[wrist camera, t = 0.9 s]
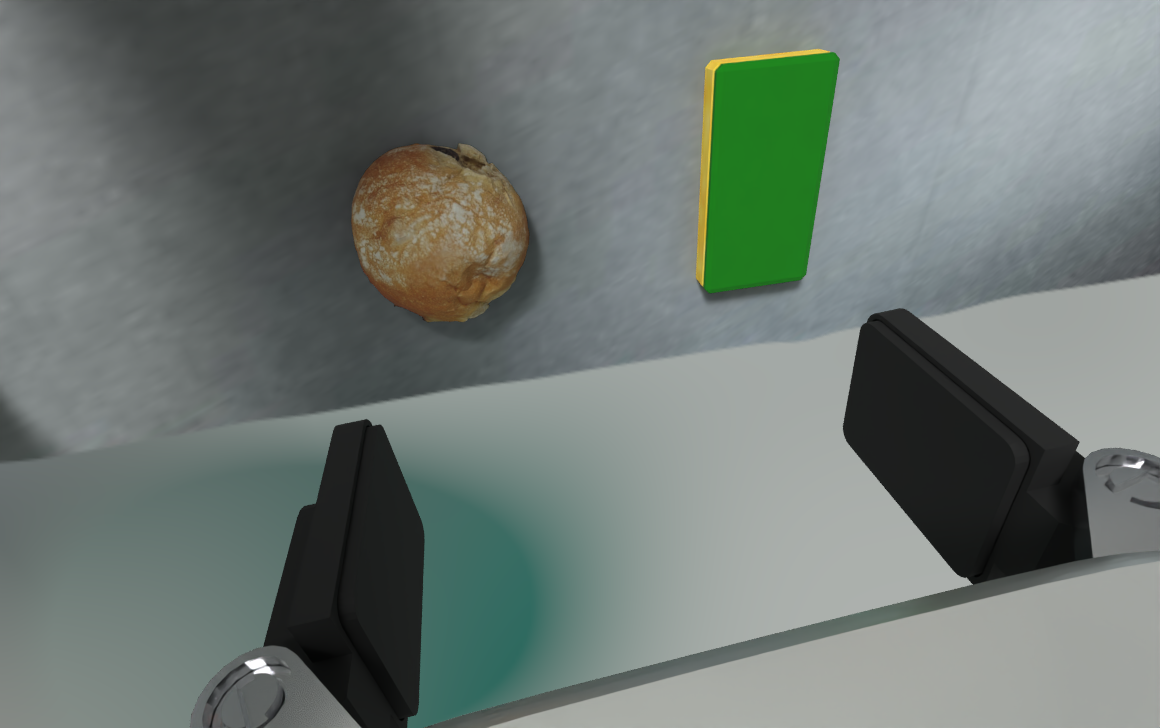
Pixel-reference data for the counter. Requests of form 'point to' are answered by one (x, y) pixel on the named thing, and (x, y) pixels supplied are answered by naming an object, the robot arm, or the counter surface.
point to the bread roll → (439, 230)
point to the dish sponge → (762, 166)
